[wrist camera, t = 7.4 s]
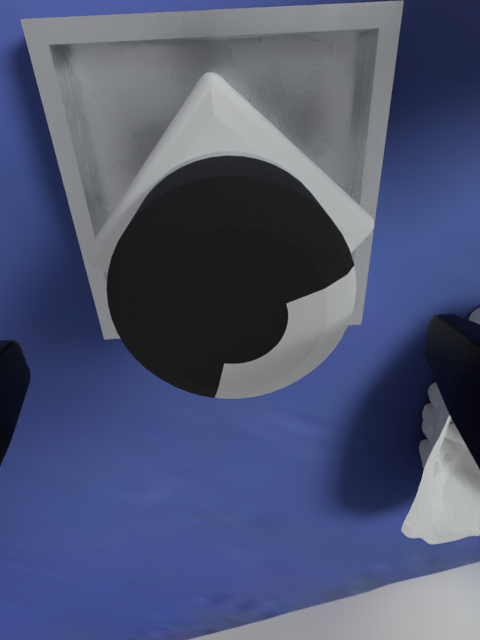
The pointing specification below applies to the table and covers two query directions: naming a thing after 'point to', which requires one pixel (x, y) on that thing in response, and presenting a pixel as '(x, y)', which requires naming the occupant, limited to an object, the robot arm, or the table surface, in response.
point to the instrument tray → (237, 70)
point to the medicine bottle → (230, 253)
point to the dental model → (444, 478)
